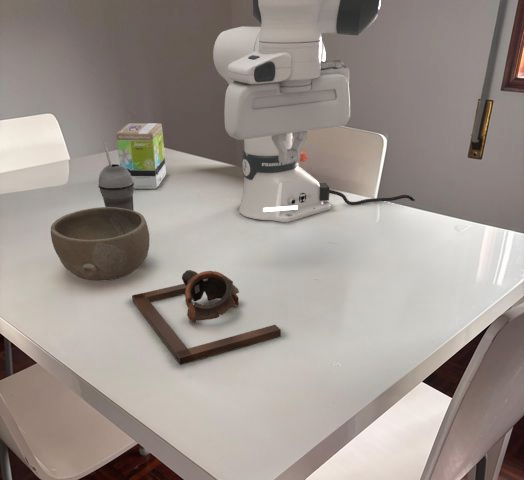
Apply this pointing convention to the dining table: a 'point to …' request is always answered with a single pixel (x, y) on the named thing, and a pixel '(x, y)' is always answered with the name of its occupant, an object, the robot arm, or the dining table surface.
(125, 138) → the tea box
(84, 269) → the bowl
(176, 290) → the frame
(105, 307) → the dining table surface
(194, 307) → the broken brown mug
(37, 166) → the dining table surface
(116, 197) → the beverage cup
